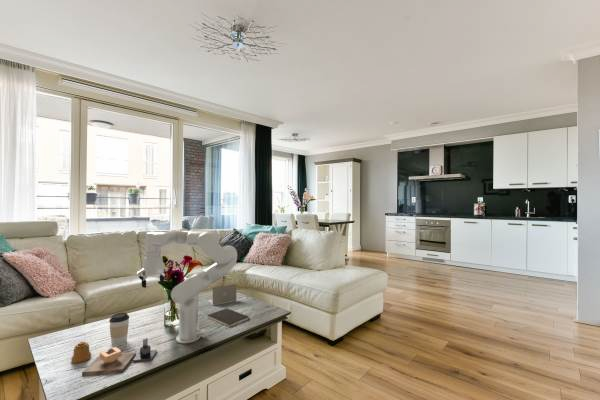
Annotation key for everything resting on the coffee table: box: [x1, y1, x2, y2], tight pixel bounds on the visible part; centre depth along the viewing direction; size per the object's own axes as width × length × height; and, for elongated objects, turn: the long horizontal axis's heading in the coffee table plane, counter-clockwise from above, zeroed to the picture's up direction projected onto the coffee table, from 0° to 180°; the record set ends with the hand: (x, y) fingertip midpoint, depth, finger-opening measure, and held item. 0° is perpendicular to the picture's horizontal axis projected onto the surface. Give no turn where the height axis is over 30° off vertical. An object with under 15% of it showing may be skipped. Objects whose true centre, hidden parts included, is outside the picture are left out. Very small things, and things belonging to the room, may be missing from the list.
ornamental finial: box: [70, 341, 92, 364], centre depth 136 cm, size 8×8×8 cm
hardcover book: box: [206, 307, 250, 328], centre depth 184 cm, size 16×23×2 cm
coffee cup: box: [109, 312, 130, 347], centre depth 152 cm, size 9×9×15 cm
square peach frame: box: [99, 346, 122, 363], centre depth 131 cm, size 6×6×2 cm
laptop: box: [207, 283, 237, 306], centre depth 217 cm, size 18×12×13 cm
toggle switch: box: [81, 347, 137, 377], centre depth 131 cm, size 16×14×8 cm
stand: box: [132, 337, 158, 363], centre depth 138 cm, size 8×8×8 cm
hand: (153, 285), depth 159 cm, fingers open, 9 cm apart
